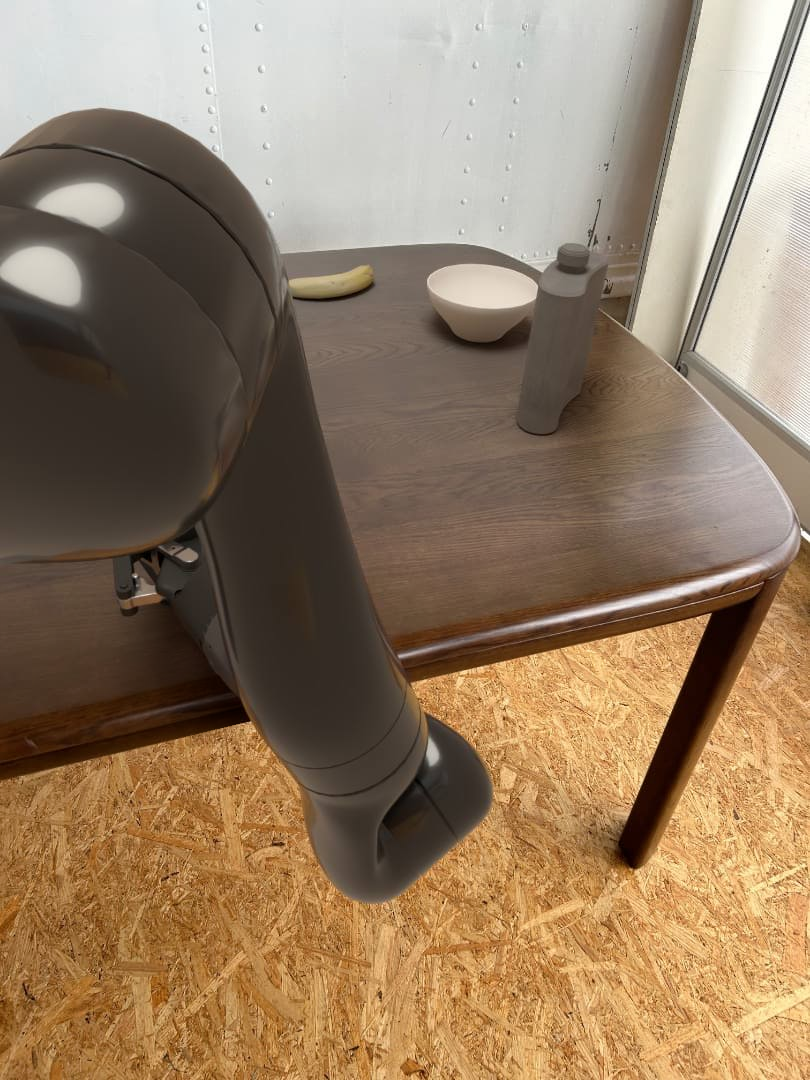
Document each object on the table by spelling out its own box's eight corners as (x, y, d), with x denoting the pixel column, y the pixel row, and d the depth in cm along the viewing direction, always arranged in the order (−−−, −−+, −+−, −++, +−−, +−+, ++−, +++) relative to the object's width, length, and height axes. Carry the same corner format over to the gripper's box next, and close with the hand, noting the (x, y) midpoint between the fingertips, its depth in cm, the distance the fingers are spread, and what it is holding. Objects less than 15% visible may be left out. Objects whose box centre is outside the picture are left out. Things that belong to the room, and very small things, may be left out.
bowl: (474, 367, 107) (480, 318, 102) (401, 323, 116) (403, 277, 111) (554, 338, 115) (563, 292, 110) (480, 300, 124) (485, 256, 119)
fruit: (385, 295, 124) (386, 275, 121) (292, 306, 118) (292, 285, 116) (368, 278, 129) (369, 258, 126) (279, 288, 123) (278, 267, 121)
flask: (543, 375, 106) (570, 224, 93) (584, 386, 104) (618, 233, 91) (504, 426, 95) (530, 263, 82) (550, 439, 94) (583, 275, 81)
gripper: (344, 550, 55) (228, 437, 65) (148, 634, 48) (53, 492, 58) (343, 625, 60) (235, 508, 70) (165, 711, 53) (75, 567, 63)
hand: (153, 501), depth 64 cm, fingers closed on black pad, 4 cm apart
